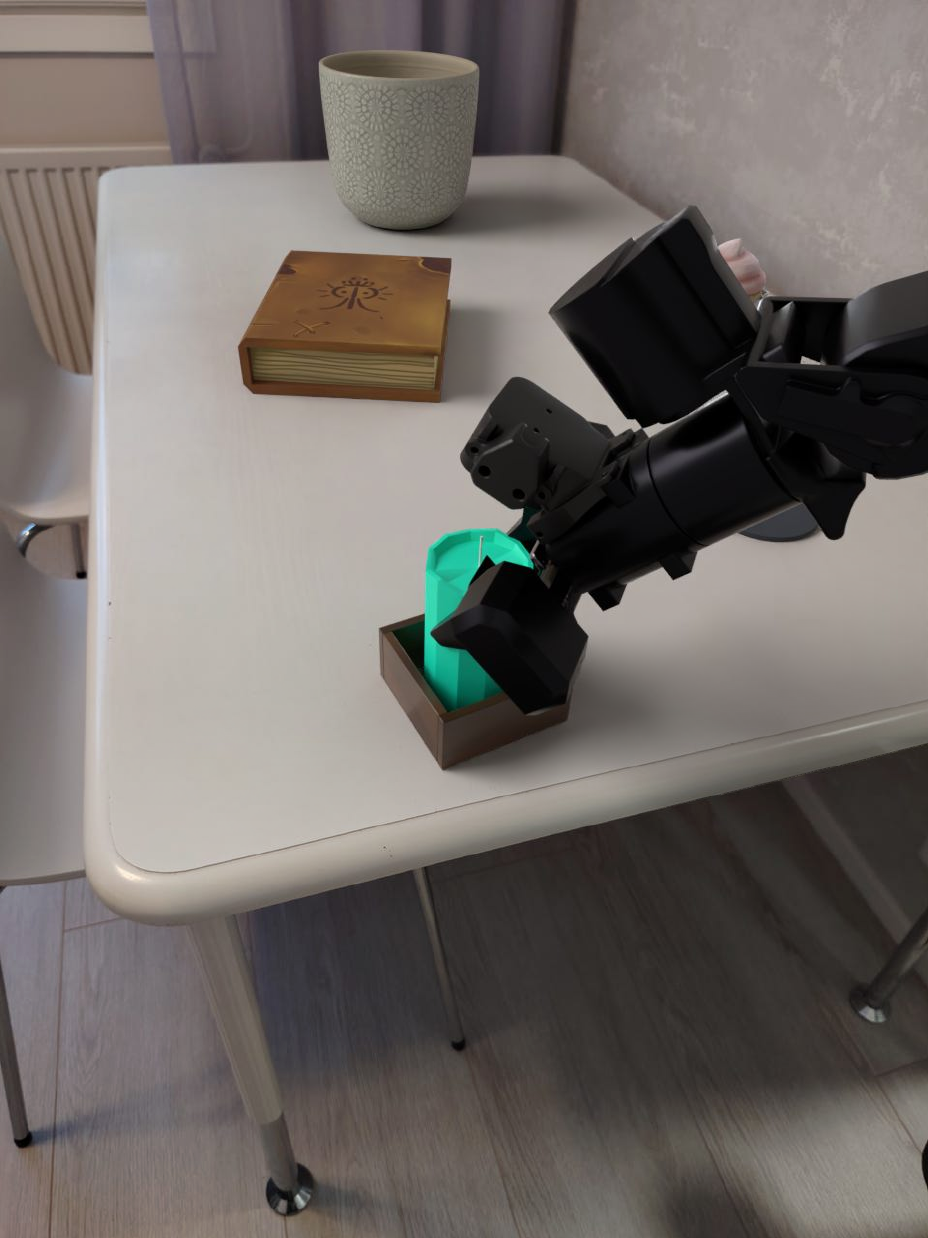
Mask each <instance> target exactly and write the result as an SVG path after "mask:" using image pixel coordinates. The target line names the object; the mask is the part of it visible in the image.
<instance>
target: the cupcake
mask: <svg viewBox="0 0 928 1238" xmlns="http://www.w3.org/2000/svg"><path fill="white" fill-rule="evenodd" d="M717 246H718V249H719V251H720V252H721V254H722V256H723V258H724V259H725V261H726V262H727V264H728V265H729V267H730V268H731V270H732V271H733V273H734V274H735V276H736V277H737V279H738V281H739V282H740V284H741V285H742V287H743V288H744V290H745V291H746V293H747V294H748V296H749V297H750V299H751V301H752V302H753V304H754V305H755V307H756V308H758V305H759V302H760V301H761V300H762V299H763V298H764V297H766V296H769V295H770V293H771V291H768V290H766V289H764V288H765V286H766V283H767V276H766V273H765V271H764V270H762V269H761V266H760V265H761V264H760V262H759V260H758V258H757V257H756V256H755V255H754V254H752V253H751V252H750V251H749V250H748V249H746V248H745V247H743V241H742V238H740V237H738V238H735V239H730V240H727V241H725V242H723V243H721V244H719V245H717Z"/></svg>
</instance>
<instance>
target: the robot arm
mask: <svg viewBox="0 0 928 1238" xmlns="http://www.w3.org/2000/svg"><path fill="white" fill-rule="evenodd" d="M718 246H719V245H718V243H717V240H716V238H715V233H714V231H713V229H712V227H711V226H710V224H709V223H708V222H707V220H706V218H705V217H704V215H703V213H702V212H701V210H700V209H699V207H698V206H697V205H693V204H689V205H687V206H686V207H685V208H683V209H682V210H680V211H679V212H678V213H677V214H676V215H674V216H672V218H670V219H669V220H666V221H663V222H661V223H658V224H657V225H655V226H653V227H652V228H651V229H649V230H647V231H646V232H644V233H643V234H642V235H641V236H639V237H637V238H636V239H635V238H634V237H633V236H630V237H629V238H628V239H626V240H625V241H624V242H623V243H621V244H620V245H619V246H617V247H616V248H615V249H614V250H612V251H611V252H610V253H609V254H607V255H606V256H605V257H604V258H602V259H601V260H600V261H599V262H598V263H597V264H595V265H594V266H593V267H592V268H590V270H589V271H587V272H586V273H585V274H584V275H582V276H581V277H580V278H579V279H578V280H577V281H575V283H573V285H572V286H570V288H568V289H567V290H566V291H565V292H564V293H563V294H562V295H561V296H560V297H559V298H558V299H557V300H556V301H555V302H554V304H553V305H552V306H551V307H550V309H549V310H548V312H547V314H548V315H549V316H550V318H551V319H552V321H553V322H554V324H556V326H557V327H558V328H559V330H560V331H561V332H562V334H563V335H564V337H565V338H566V340H567V341H568V342H569V344H570V345H571V346H572V347H573V349H574V350H575V351H576V353H577V354H578V356H579V357H580V358H581V360H582V361H583V362H584V363H585V365H586V367H587V368H588V369H589V370H590V372H591V373H592V374H593V376H594V377H595V379H596V380H597V381H598V382H599V384H600V385H601V387H602V388H603V389H604V391H605V392H606V394H607V395H608V396H609V397H610V399H611V401H613V403H614V404H615V406H616V407H617V408H618V409H619V411H620V412H621V414H622V415H623V416H624V418H625V419H626V420H631V421H636V423H637V424H638V425H639V427H640V428H639V429H638V430H636V431H635V430H633V428H632V427H631V428H627V429H626V430H624V431H622V432H620V433H619V434H617V435H615V434H614V432H613V431H612V430H611V428H610V427H609V426H608V424H603V423H599V422H594V421H590V420H587V419H586V418H585V417H584V416H583V415H582V414H580V413H578V412H577V411H576V410H574V409H573V408H571V407H569V406H568V405H567V404H565V402H562V401H561V400H560V399H558V398H557V397H556V396H554V395H553V394H551V393H550V392H548V391H546V390H545V389H544V388H542V387H541V386H539V385H538V384H537V383H535V382H534V381H532V380H530V379H528V378H526V377H523V376H512V377H511V378H510V379H509V380H508V381H507V382H506V383H505V384H504V386H503V387H502V389H500V391H499V392H498V393H497V395H496V396H495V397H494V399H493V400H492V401H491V403H490V404H489V406H488V407H487V409H485V412H484V414H483V416H482V417H481V419H480V420H479V422H478V424H477V425H476V427H475V429H474V430H473V432H472V433H471V435H470V437H469V438H468V440H467V442H466V443H465V445H464V447H463V448H462V449H461V452H460V454H459V460H460V463H461V465H462V467H463V468H464V469H465V470H466V471H467V472H468V473H469V474H470V478H471V481H472V483H473V485H474V486H475V487H476V488H477V489H479V490H481V491H482V492H484V493H485V494H486V495H488V496H490V497H491V498H493V499H494V500H496V501H497V502H498V503H500V504H501V505H502V506H504V507H506V508H507V509H509V510H511V511H514V510H515V511H516V510H522V515H521V517H520V518H519V519H517V521H516V522H515V523H514V524H513V526H511V527H510V529H508V531H506V532H505V533H506V534H508V537H511V538H514V539H516V540H518V541H520V542H521V544H522V545H523V546H524V548H525V549H526V550H527V552H528V553H529V554H530V556H529V557H530V560H531V561H532V563H533V569H532V568H531V567H527V566H523V565H520V564H516V563H512V562H508V561H502V562H501V563H499V564H497V565H496V564H495V563H494V562H493V561H492V560H491V558H490V557H489V556H488V555H486V556H485V558H484V560H483V561H482V563H481V565H480V566H479V568H478V570H477V571H476V573H475V574H474V576H473V578H472V579H471V581H470V583H469V585H468V589H467V592H466V593H465V595H464V597H463V598H462V600H461V602H460V603H459V605H458V607H457V608H456V610H454V611H453V612H452V613H451V614H449V615H448V616H447V617H446V618H444V619H443V620H442V621H441V622H439V623H438V624H437V625H436V626H435V627H434V628H433V629H432V630H431V632H430V635H431V636H432V637H433V638H434V639H435V641H436V642H437V643H438V644H439V645H440V646H442V647H448V648H455V649H461V650H466V651H467V652H468V653H469V654H470V655H471V656H472V657H473V658H474V660H475V661H476V662H477V663H478V664H479V665H480V666H481V667H482V668H483V670H484V671H485V672H486V673H487V674H488V675H489V676H490V677H491V678H492V680H493V681H494V682H495V683H496V684H497V685H498V686H499V687H500V688H501V690H502V691H503V692H504V693H505V694H506V695H507V696H508V697H509V698H510V700H511V701H512V702H513V703H514V704H515V705H516V706H517V707H518V708H519V710H520V711H521V712H522V713H523V714H524V715H537V714H540V713H543V712H545V711H548V710H551V709H554V708H556V707H559V706H562V705H564V704H566V703H567V700H568V698H569V695H570V693H571V690H572V688H573V689H574V685H575V683H576V679H577V677H578V675H579V673H580V671H581V668H582V665H583V664H584V663H583V662H584V661H585V659H586V653H587V647H588V643H589V635H588V634H587V632H586V631H585V630H584V629H583V627H582V626H581V625H580V624H579V623H578V620H577V618H576V615H575V611H576V609H577V607H578V604H579V601H580V600H581V598H582V596H583V595H585V594H588V595H589V596H590V597H591V599H592V600H593V601H594V603H596V604H597V606H598V607H599V608H600V610H601V611H602V612H606V611H608V610H611V609H612V608H614V607H617V606H619V605H620V604H621V602H622V599H623V596H624V594H625V591H626V589H627V586H628V584H629V583H631V582H635V581H636V580H638V579H640V578H643V577H645V576H647V575H649V574H651V573H653V572H656V571H658V570H660V569H663V570H664V571H665V572H666V574H667V575H668V576H669V577H670V579H671V580H672V581H675V580H678V579H680V578H682V577H684V576H686V575H689V574H691V573H692V572H693V570H694V569H693V568H694V565H695V562H696V559H697V555H698V552H699V551H701V550H703V549H706V548H708V547H710V546H712V545H714V544H716V543H718V542H721V541H723V540H725V539H727V538H730V537H732V536H735V535H736V534H739V533H738V532H740V531H743V530H745V529H747V528H749V527H751V526H753V525H756V524H758V523H760V522H762V521H764V520H766V519H769V518H771V517H773V516H775V515H777V514H780V513H782V512H784V511H786V510H788V509H790V508H793V507H795V506H797V505H799V504H801V503H802V504H803V505H804V506H805V507H806V509H807V510H808V511H809V513H810V514H811V516H812V517H813V519H814V520H815V522H816V523H817V525H818V528H819V529H820V530H821V532H822V534H823V535H824V536H825V537H826V538H827V539H828V540H830V541H839V540H841V539H842V538H843V537H844V536H845V532H846V528H847V523H848V520H849V516H850V514H851V511H852V509H853V506H854V504H855V503H856V501H857V499H858V498H859V496H860V495H861V494H862V493H863V492H864V490H865V489H866V487H867V477H868V475H871V476H872V477H873V478H874V479H876V480H878V481H879V480H880V481H881V480H882V481H899V480H904V479H908V478H913V477H919V476H923V475H926V474H928V270H925V271H922V272H918V273H915V274H910V275H907V276H904V277H900V278H897V279H894V280H893V279H892V280H890V281H887V282H884V283H881V284H878V285H874V286H873V287H870V288H868V289H867V290H866V291H864V292H862V293H861V294H859V295H858V296H856V297H855V298H854V297H821V296H820V297H818V296H817V297H816V296H786V295H785V296H784V295H783V296H780V295H779V296H777V295H767V296H766V297H764V298H763V299H762V300H761V301H760V302H759V305H758V308H756V307H755V305H754V304H753V302H752V301H751V299H750V297H749V296H748V294H747V293H746V291H745V290H744V288H743V287H742V285H741V284H740V282H739V281H738V279H737V277H736V276H735V274H734V273H733V271H732V270H731V268H730V267H729V265H728V264H727V262H726V261H725V259H724V258H723V256H722V254H721V252H720V251H719V249H718ZM803 357H804V358H806V359H808V360H811V361H814V362H816V363H819V364H815V363H802V359H803ZM725 391H726V392H725ZM723 392H725V393H723ZM721 393H723V394H722V395H720V394H721ZM719 395H720V396H719ZM716 396H718V397H717V398H715V397H716ZM714 398H715V399H714ZM712 399H714V400H712ZM710 400H712V401H710ZM709 401H710V402H709ZM657 424H659V425H663V426H665V425H669V426H667V427H665V428H664V429H661V430H660V431H659V432H657V433H654V434H653V435H651V436H650V437H649V435H648V433H647V432H646V431H645V429H646V428H650V427H652V426H654V425H657ZM572 691H573V690H572Z"/></svg>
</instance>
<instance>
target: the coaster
mask: <svg viewBox="0 0 928 1238" xmlns="http://www.w3.org/2000/svg"><path fill="white" fill-rule="evenodd" d="M817 528H819V526H818V525H817V523H816V522H815V520H814V519H813V517H812V516H811V514H810V513H809V511H808V510H807V509H806V507H805V506H804V505H803V504H802V503H801V504H799V505H797V506H795V507H793V508H790V509H788V510H786V511H784V512H782V513H780V514H777V515H775V516H773V517H771V518H769V519H766V520H764V521H762V522H760V523H758V524H756V525H753V526H751V527H749V528H747V529H745V530H743V531H740V532H738V533H737V534H740V535H743V536H745V537H748V538H752V539H755V540H756V539H757V540H759V541H766V542H793V541H797V540H800V539H804V538H806V537H808V536H810V535H812V534H813V533H814V532H815V531H816V530H817Z"/></svg>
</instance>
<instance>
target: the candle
mask: <svg viewBox="0 0 928 1238" xmlns="http://www.w3.org/2000/svg"><path fill="white" fill-rule="evenodd" d="M506 533H507V532H504V531H502V530H501V529H499V528H497V527H496V528H495V527H494V528H492V527H491V528H465V529H462V530H458V531H452V532H448V533H444V534H443V535H442V536H440V538H438V539H437V540H436V541H435V542H433V544H431V545H430V546H429V547H428V549H427V556H426V564H425V565H426V566H425V573H424V574H425V581H424V582H425V585H424V586H425V587H424V589H425V590H424V613H425V655H424V667H423V671H424V672H423V678H424V679H425V681H426V682H427V684H428V685H429V687H430V688H431V689H432V691H433V692H434V694H435V695H436V697H437V698H438V699H439V701H440V702H441V704H442V705H443V707H444V708H445V710H446V711H447V713H449V712H452V711H454V710H457V709H460V708H462V707H465V706H468V705H470V704H473V703H476V702H479V701H481V700H484V699H487V698H489V697H492V696H495V695H497V694H500V693H503V691H502V690H501V688H500V687H499V686H498V685H497V684H496V683H495V682H494V681H493V680H492V678H491V677H490V676H489V675H488V674H487V673H486V672H485V671H484V670H483V668H482V667H481V666H480V665H479V664H478V663H477V662H476V661H475V660H474V658H473V657H472V656H471V655H470V654H469V653H468V652H467V651H466V650H461V649H455V648H448V647H442V646H440V645H439V644H438V643H437V642H436V641H435V639H434V638H433V637H432V636H431V635H430V632H431V630H432V629H433V628H434V627H435V626H436V625H437V624H438V623H439V622H441V621H442V620H443V619H444V618H446V617H447V616H448V615H449V614H451V613H452V612H453V611H454V610H456V608H457V607H458V605H459V603H460V602H461V600H462V598H463V597H464V595H465V593H466V592H467V589H468V585H469V583H470V581H471V579H472V578H473V576H474V574H475V573H476V571H477V570H478V568H479V566H480V565H481V563H482V561H483V560H484V558H485V556H486V555H488V556H489V557H490V558H491V560H492V561H493V562H494V563H495V564H496V565H497V564H499V563H501V562H502V561H508V562H512V563H516V564H520V565H523V566H527V567H531V568H532V569H533V563H532V561H531V560H530V557H529V556H530V554H529V553H528V552H527V550H526V549H525V548H524V546H523V545H522V544H521V542H520V541H518V540H516V539H514V538H511V537H508V534H506Z"/></svg>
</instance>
